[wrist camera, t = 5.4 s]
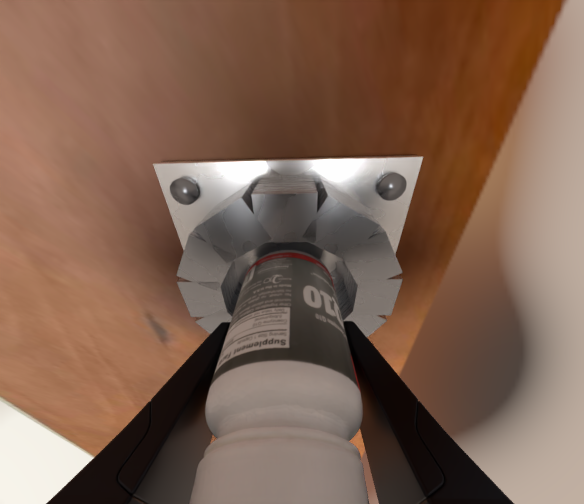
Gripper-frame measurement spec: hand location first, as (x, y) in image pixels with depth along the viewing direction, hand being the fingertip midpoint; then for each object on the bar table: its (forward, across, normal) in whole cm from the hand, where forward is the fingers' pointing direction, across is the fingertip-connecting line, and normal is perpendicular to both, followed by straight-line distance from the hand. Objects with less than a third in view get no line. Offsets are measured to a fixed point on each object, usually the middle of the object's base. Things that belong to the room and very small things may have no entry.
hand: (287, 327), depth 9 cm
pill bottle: (+3, 0, 0) cm, 3 cm away
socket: (+5, 0, 0) cm, 5 cm away
